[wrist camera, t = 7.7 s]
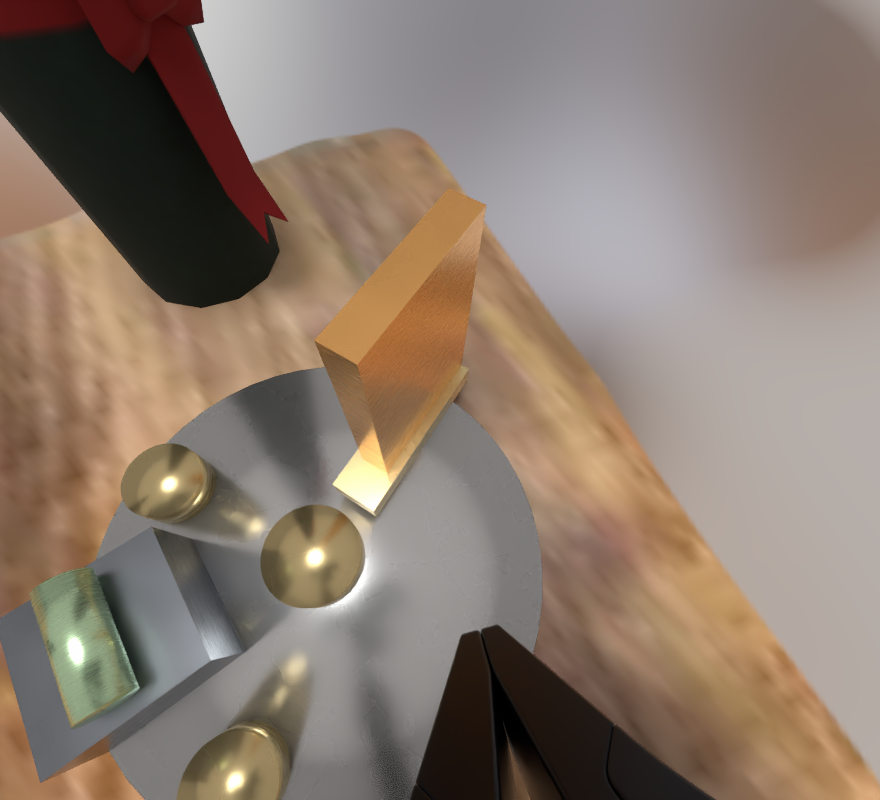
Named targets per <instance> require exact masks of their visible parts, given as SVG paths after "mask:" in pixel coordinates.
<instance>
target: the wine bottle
mask: <svg viewBox="0 0 880 800" xmlns="http://www.w3.org/2000/svg"><path fill="white" fill-rule="evenodd" d="M203 22H204V18H203V11H202V3H201V0H0V112H1V113H2V114H3V115H4V116H5V118H6V119H7V120H8V121H9V122H10V123H11V125H12V126H13V127H14V128H15V129H16V131H17V132H18V133H19V134H20V135H21V137H22V138H23V139H24V140H25V141H26V142H27V143H28V145H29V146H30V147H31V148H32V150H33V151H34V152H35V153H36V154H37V156H38V157H39V158H40V159H41V160H42V161H43V162H44V164H45V165H46V166H47V167H48V168H49V170H50V171H51V172H52V173H53V174H54V176H55V177H56V178H57V179H58V180H59V181H60V183H61V184H62V185H63V186H64V187H65V189H66V190H67V191H68V192H69V194H70V195H71V196H72V197H73V198H74V199H75V200H76V202H77V203H78V204H79V205H80V207H81V208H82V209H83V210H84V211H85V212H86V214H87V215H88V216H89V217H90V218H91V220H92V221H93V222H94V223H95V224H96V226H97V227H98V228H99V229H100V230H101V231H102V233H103V234H104V235H105V236H106V237H107V239H108V240H109V241H110V242H111V243H112V245H113V246H114V247H115V248H116V249H117V250H118V252H119V253H120V254H121V255H122V256H123V258H124V259H125V260H126V261H127V262H128V264H129V265H130V266H131V267H132V268H133V269H134V271H135V272H136V273H137V274H138V275H139V277H140V278H141V279H142V280H143V281H144V282H145V283H146V284H147V285H148V286H149V287H150V288H151V289H152V290H154V291H155V292H156V293H157V294H158V295H159V296H160V297H161V298H162V299H164V300H165V301H166V302H171V303H177V304H183V305H189V306H194V307H200V308H202V307H206V306H210V305H214V304H218V303H222V302H226V301H231V300H235V299H239V298H240V297H242V296H243V295H244V294H246V293H247V292H248V291H250V290H251V289H252V288H254V287H255V286H256V285H258V284H259V283H260V282H262V281H263V280H264V279H266V278H267V277H268V275H269V273H270V271H271V268H272V266H273V264H274V262H275V260H276V257H277V255H278V253H279V248H278V244H277V240H276V236H275V232H274V229H273V226H272V223H271V221H270V218H269V216H268V215H270V216H273V217H276V218H279V219H282V220H284V221H287V222H288V220H287V219H286V217H285V216H284V214H283V213H282V211H281V210H280V209H279V207H278V206H277V204H276V203H275V201H274V200H273V198H272V197H271V195H270V194H269V192H268V191H267V189H266V188H265V186H264V185H263V183H262V182H261V180H260V179H259V177H258V176H257V174H256V173H255V171H254V170H253V168H252V166H251V163H250V161H249V159H248V157H247V155H246V153H245V151H244V149H243V147H242V145H241V143H240V141H239V138H238V136H237V134H236V132H235V130H234V128H233V126H232V124H231V122H230V120H229V117H228V115H227V112H226V110H225V107H224V105H223V102H222V100H221V97H220V95H219V92H218V90H217V88H216V85H215V83H214V80H213V78H212V75H211V73H210V70H209V68H208V65H207V63H206V61H205V58H204V56H203V53H202V51H201V48H200V46H199V43H198V41H197V38H196V36H195V33H194V31H193V29H192V26H191V25H194V24H199V23H203Z"/></svg>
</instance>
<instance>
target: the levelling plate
mask: <svg viewBox="0 0 880 800" xmlns="http://www.w3.org/2000/svg"><path fill="white" fill-rule="evenodd" d="M357 450H358V446H357V444H356V441H355V439H354V436H353V434H352V432H351V429H350V427H349V424H348V422H347V419H346V417H345V414H344V412H343V410H342V407H341V405H340V402H339V400H338V397H337V395H336V392H335V390H334V387H333V385H332V383H331V380H330V378H329V375H328V373H327V370H326V368H325V367H323V368H315V369H308V370H300V371H296V372H292V373H287V374H283V375H279V376H275V377H272V378H270V379H267V380H264V381H261V382H258V383H256V384H253V385H250V386H248V387H246V388H244V389H242V390H240V391H238V392H236V393H234V394H232V395H230V396H228V397H226V398H224V399H223V400H221V401H220V402H218V403H216V404H215V405H213V406H211V407H210V408H208V409H207V410H205V411H204V412H202V413H201V414H200V415H198V416H197V417H196V418H195V419H193V420H192V421H191V422H189V423H188V424H187V425H185V426H184V427H183V428H182V429H181V430H180V431H179V432H178V433H176V434H175V435H174V436H173V437H172V438H171V439H170V440H169V441H168V442H167V443H166V444H161V445H157V446H154V447H152V448H150V449H148V450H146V451H144V452H143V453H141V454H140V455H139V456H138V457H137V458H135V459H134V460H133V462H132V463H131V464H130V465H129V467H128V468H127V470H126V472H125V474H124V476H123V479H122V483H121V495H122V499H123V500H122V502H121V504H120V505H119V507H118V509H117V511H116V513H115V515H114V516H113V518H112V520H111V522H110V524H109V527H108V529H107V532H106V534H105V536H104V539H103V541H102V544H101V546H100V549H99V551H98V554H97V558H96V560H95V561H94V562H92V563H90V564H89V565H87V566H85V567H84V568H78V569H74V570H71V571H67V572H64V573H62V574H59V575H57V576H55V577H53V578H50V579H49V580H47V581H45V582H43V583H42V584H40V585H39V586H37V587H36V588H35V589H34V590H33V591H32V592H31V593H30V595H29V597H30V600H29V601H28V602H26V603H24V604H23V605H21V606H19V607H18V608H16V609H14V610H13V611H11V612H9V613H8V614H6V615H4V616H3V617H1V618H0V640H1V644H2V648H3V651H4V655H5V658H6V662H7V665H8V669H9V673H10V676H11V680H12V683H13V687H14V690H15V694H16V697H17V701H18V705H19V708H20V712H21V715H22V719H23V722H24V726H25V730H26V733H27V737H28V740H29V744H30V747H31V751H32V755H33V758H34V762H35V765H36V769H37V772H38V776H39V780H40V783H41V782H44V781H46V780H48V779H50V778H52V777H54V776H57V775H59V774H61V773H63V772H65V771H68V770H70V769H72V768H74V767H76V766H78V765H81V764H83V763H85V762H87V761H89V760H92V759H94V758H96V757H98V756H100V755H103V754H105V753H107V752H110V753H111V755H112V757H113V758H114V760H115V761H116V763H117V764H118V766H119V768H120V769H121V771H122V772H123V774H124V775H125V777H126V779H127V780H128V781H129V782H130V784H131V785H132V786H133V787H134V788H135V789H136V790H137V791H138V792H139V794H140V795H141V796H142V797H143V798H144V799H145V800H409V799H410V796H411V792H412V789H413V786H414V785H416V783H415V782H416V778H417V775H418V772H419V768H420V765H421V762H422V759H423V755H424V752H425V749H426V746H427V743H428V739H429V736H430V733H431V730H432V726H433V723H434V720H435V717H436V713H437V710H438V707H439V704H440V701H441V697H442V694H443V691H444V688H445V684H446V681H447V678H448V675H449V671H450V668H451V665H452V662H453V659H454V655H455V652H456V649H457V646H458V642H459V639H460V637H461V635H462V634H464V633H467V632H471V631H475V630H478V631H479V632H480V633H481V629H482V628H485V627H489V626H493V625H499V626H501V627H502V628H503V629H504V630H506V631H507V632H508V633H509V634H510V635H511V636H513V637H514V638H515V639H516V640H517V641H518V642H520V643H521V644H522V645H523V646H524V647H526V648H527V649H528V650H529V651H530V652H531V653H533V651H534V647H535V643H536V639H537V635H538V630H539V622H540V613H541V604H542V562H541V554H540V547H539V539H538V534H537V530H536V526H535V522H534V518H533V514H532V511H531V507H530V505H529V502H528V500H527V497H526V495H525V492H524V490H523V487H522V484H521V482H520V480H519V479H518V477H517V475H516V473H515V471H514V469H513V468H512V466H511V464H510V462H509V460H508V459H507V457H506V456H505V454H504V453H503V452H502V450H501V449H500V448H499V446H498V445H497V443H496V442H495V441H494V439H493V438H492V437H491V436H490V435H489V434H488V433H487V432H486V431H485V429H484V428H483V427H482V426H481V425H480V424H479V423H478V422H477V421H476V420H475V419H474V418H473V417H471V416H470V415H469V414H468V413H467V412H465V411H464V410H463V409H462V408H461V407H460V406H458V405H457V404H455V403H454V402H453V403H452V404H451V406H450V407H449V409H448V410H447V412H446V413H445V415H444V416H443V418H442V419H441V421H440V422H439V424H438V425H437V427H436V428H435V430H434V431H433V433H432V434H431V436H430V437H429V439H428V440H427V442H426V443H425V445H424V446H423V448H422V449H421V451H420V452H419V454H418V455H417V457H416V458H415V460H414V461H413V463H412V464H411V466H410V467H409V469H408V470H407V472H406V473H405V475H404V476H403V478H402V480H401V481H400V483H399V484H398V486H397V487H396V489H395V490H394V492H393V493H392V495H391V496H390V498H389V499H388V501H387V502H386V504H385V505H384V507H383V508H382V510H381V511H380V513H379V514H378V516H377V517H376V516H374V515H373V514H371V513H370V512H368V511H367V510H365V509H364V508H362V507H361V506H359V505H357V504H356V503H354V502H353V501H351V500H350V499H348V498H347V497H345V496H344V495H342V494H340V493H339V492H338V491H337V490H336V489H335V487H334V486H333V485H332V484H333V483H334V481H335V480H336V479H337V477H338V476H339V475H340V473H341V472H342V471H343V469H344V468H345V466H346V465H347V464H348V462H349V461H350V460H351V458H352V457H353V456H354V454H355V453H356V451H357ZM315 504H319V505H326V506H330V507H333V508H335V509H337V510H339V511H341V512H342V513H343V514H345V515H346V516H347V517H348V518H349V519H350V520H351V522H352V523H353V524H354V525H355V526H356V528H357V529H358V531H359V532H360V534H361V536H362V539H363V542H364V546H365V563H364V568H363V571H362V574H361V576H360V579H359V580H358V582H357V584H356V585H355V587H354V588H353V589H352V590H351V591H350V593H349V594H348V595H346V596H345V597H344V598H343V599H341V600H340V601H338V602H336V603H334V604H332V605H329V606H326V607H322V608H296V607H292V606H289V605H286V604H284V603H282V602H281V601H279V600H278V599H277V598H275V597H274V596H273V595H272V594H271V592H270V591H269V590H268V588H267V587H266V585H265V583H264V580H263V577H262V573H261V567H260V559H261V552H262V548H263V544H264V542H265V539H266V537H267V535H268V533H269V532H270V530H271V529H272V527H273V526H274V525H275V524H276V523H277V522H278V521H279V520H280V519H281V518H282V517H283V516H285V515H286V514H287V513H289V512H291V511H292V510H294V509H297V508H299V507H302V506H306V505H315Z"/></svg>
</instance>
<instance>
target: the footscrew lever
mask: <svg viewBox="0 0 880 800" xmlns="http://www.w3.org/2000/svg"><path fill="white" fill-rule="evenodd" d="M485 210H486V205H485V204H483V203H480V202H478V201H476V200H474V199H472V198H470V197H467V196H465V195H463V194H461V193H458V192H456V191H454V190H452V189H450V188H449V189H448V190H447V191H446V192H445V193H444V194H443V195H442V197H441V198H440V199H439V200H438V201H437V202H436V203H435V205H434V206H433V207H432V208H431V209H430V210H429V211H428V212H427V214H426V215H425V216H424V217H423V218H422V219H421V220H420V221H419V223H418V224H417V225H416V226H415V227H414V228H413V229H412V231H411V232H410V233H409V234H408V235H407V236H406V237H405V238H404V240H403V241H402V242H401V243H400V244H399V245H398V246H397V247H396V249H395V250H394V251H393V252H392V253H391V254H390V255H389V257H388V258H387V259H386V260H385V261H384V262H383V263H382V264H381V266H380V267H379V268H378V269H377V270H376V271H375V272H374V273H373V275H372V276H371V277H370V278H369V279H368V280H367V281H366V283H365V284H364V285H363V286H362V287H361V288H360V289H359V290H358V292H357V293H356V294H355V295H354V296H353V297H352V298H351V299H350V301H349V302H348V303H347V304H346V305H345V306H344V307H343V309H342V310H341V311H340V312H339V313H338V314H337V315H336V316H335V318H334V319H333V320H332V321H331V322H330V323H329V324H328V325H327V327H326V328H325V329H324V330H323V331H322V332H321V333H320V335H319V336H318V337H317V338H316V339H315V340H314V341H315V343H316V346H317V348H318V351H319V353H320V356H321V358H322V361H323V363H324V365H325V368H326V370H327V373H328V375H329V378H330V380H331V383H332V385H333V387H334V390H335V392H336V395H337V397H338V400H339V402H340V405H341V407H342V410H343V412H344V414H345V417H346V419H347V422H348V424H349V427H350V429H351V432H352V434H353V436H354V439H355V441H356V444H357V446H358V450H357V451H356V453H355V454H354V456H353V457H352V458H351V460H350V461H349V462H348V464H347V465H346V466H345V468H344V469H343V471H342V472H341V473H340V475H339V476H338V477H337V479H336V480H335V481H334V483H333V484H332V485H333V486H334V487H335V489H336V490H337V491H338V492H339V493H340V494H342V495H344V496H345V497H347V498H348V499H350V500H351V501H353V502H354V503H356V504H357V505H359V506H361V507H362V508H364V509H365V510H367V511H368V512H370V513H371V514H373V515H374V516H376V517H377V516H378V514H379V513H380V511H381V510H382V508H383V507H384V505H385V504H386V502H387V501H388V499H389V498H390V496H391V495H392V493H393V492H394V490H395V489H396V487H397V486H398V484H399V483H400V481H401V480H402V478H403V476H404V475H405V473H406V472H407V470H408V469H409V467H410V466H411V464H412V463H413V461H414V460H415V458H416V457H417V455H418V454H419V452H420V451H421V449H422V448H423V446H424V445H425V443H426V442H427V440H428V439H429V437H430V436H431V434H432V433H433V431H434V430H435V428H436V427H437V425H438V424H439V422H440V421H441V419H442V418H443V416H444V415H445V413H446V412H447V410H448V409H449V407H450V406H451V404H452V403H453V401H454V400H455V398H456V397H457V395H458V394H459V392H460V391H461V389H462V388H463V386H464V385H465V383H466V382H467V376H468V371H469V369H467V368H466V367H464V366H462V365H461V364H462V357H463V351H464V345H465V338H466V332H467V325H468V319H469V313H470V306H471V300H472V293H473V287H474V281H475V274H476V268H477V261H478V255H479V249H480V242H481V236H482V230H483V223H484V217H485ZM364 563H365V546H364V542H363V539H362V536H361V534H360V532H359V531H358V529H357V528H356V526H355V525H354V524H353V523H352V522H351V520H350V519H349V518H348V517H347V516H346V515H345V514H343V513H342V512H341V511H339V510H337V509H335V508H333V507H330V506H326V505H319V504H315V505H306V506H302V507H299V508H297V509H294V510H292V511H291V512H289V513H287V514H286V515H285V516H283V517H282V518H281V519H280V520H279V521H278V522H277V523H276V524H275V525H274V526H273V527H272V529H271V530H270V532H269V533H268V535H267V537H266V539H265V542H264V544H263V548H262V552H261V559H260V567H261V573H262V577H263V580H264V583H265V585H266V587H267V588H268V590H269V591H270V592H271V594H272V595H273V596H274V597H275V598H277V599H278V600H279V601H281V602H282V603H284V604H286V605H289V606H292V607H296V608H322V607H326V606H329V605H332V604H334V603H336V602H338V601H340V600H341V599H343V598H344V597H345V596H346V595H348V594H349V593H350V591H351V590H352V589H353V588H354V587H355V585H356V584H357V582H358V580H359V579H360V576H361V574H362V571H363V568H364Z"/></svg>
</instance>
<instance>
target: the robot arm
mask: <svg viewBox="0 0 880 800" xmlns="http://www.w3.org/2000/svg"><path fill="white" fill-rule="evenodd" d="M505 730H506V732H505ZM506 734H507V736H506ZM507 737H508V740H509V744H510V746H511V749H512V752H513V755H514V757H515V760H516V762H517V765H518V767H519V770H520V772H521V775H522V778H523V780H524V783H525V785H526V788H527V790H528V793H529V795H530V798H531V800H716V799H714V798H713V797H711V796H710V795H708V794H707V793H705V792H704V791H703V790H701V789H700V788H698V787H697V786H695V785H694V784H693V783H691V782H690V781H688V780H687V779H686V778H684V777H683V776H681V775H680V774H679V773H677V772H676V771H674V770H673V769H672V768H670V767H669V766H667V765H666V764H665V763H663V762H662V761H661V760H659V759H658V758H657V757H656V756H654V755H653V754H652V753H651V752H649V751H648V750H647V749H646V748H644V747H643V746H642V745H641V744H639V743H638V742H637V741H636V740H634V739H633V738H632V737H631V736H630V735H629V734H627V733H626V732H625V731H624V730H623V729H622V728H620V727H619V726H618V725H615V724H614V722H613V721H611V720H610V719H609V718H608V717H607V716H605V715H604V714H603V713H602V712H601V711H600V710H598V709H597V708H596V707H595V706H594V705H593V704H591V703H590V702H589V701H588V700H587V699H585V698H584V697H583V696H582V695H581V694H580V693H578V692H577V691H576V690H575V689H574V688H573V687H571V686H570V685H569V684H568V683H567V682H566V681H564V680H563V679H562V678H561V677H560V676H558V675H557V674H556V673H555V672H554V671H553V670H551V669H550V668H549V667H548V666H547V665H546V664H544V663H543V662H542V661H541V660H540V659H538V658H537V657H536V656H535V655H534V654H533V653H531V652H530V651H529V650H528V649H527V648H526V647H524V646H523V645H522V644H521V643H520V642H518V641H517V640H516V639H515V638H514V637H513V636H511V635H510V634H509V633H508V632H507V631H506V630H504V629H503V628H502V627H501V626H499V625H493V626H489V627H485V628H482V629H481V633H480V632H479V631H478V630H475V631H471V632H467V633H464V634H462V635H461V637H460V639H459V642H458V646H457V649H456V652H455V655H454V659H453V662H452V665H451V668H450V671H449V675H448V678H447V681H446V684H445V688H444V691H443V694H442V697H441V701H440V704H439V707H438V710H437V713H436V717H435V720H434V723H433V726H432V730H431V733H430V736H429V739H428V743H427V746H426V749H425V752H424V755H423V759H422V762H421V765H420V768H419V772H418V775H417V778H416V782H415V783H416V785H414V786H413V789H412V792H411V796H410V799H409V800H517V798H516V791H515V784H514V777H513V771H512V764H511V757H510V751H509V745H508V740H507Z"/></svg>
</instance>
